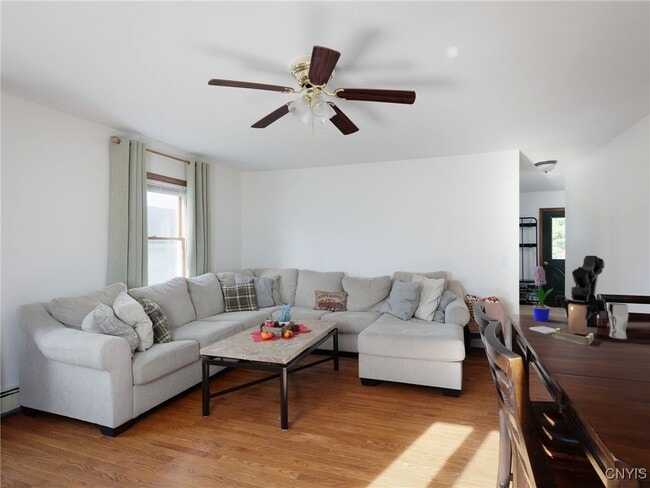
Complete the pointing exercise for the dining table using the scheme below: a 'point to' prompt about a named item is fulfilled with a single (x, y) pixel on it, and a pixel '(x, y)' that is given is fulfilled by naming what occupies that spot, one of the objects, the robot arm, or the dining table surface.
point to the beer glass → (618, 320)
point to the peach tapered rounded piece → (577, 318)
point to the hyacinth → (540, 296)
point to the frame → (572, 337)
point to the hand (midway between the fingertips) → (576, 318)
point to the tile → (542, 329)
